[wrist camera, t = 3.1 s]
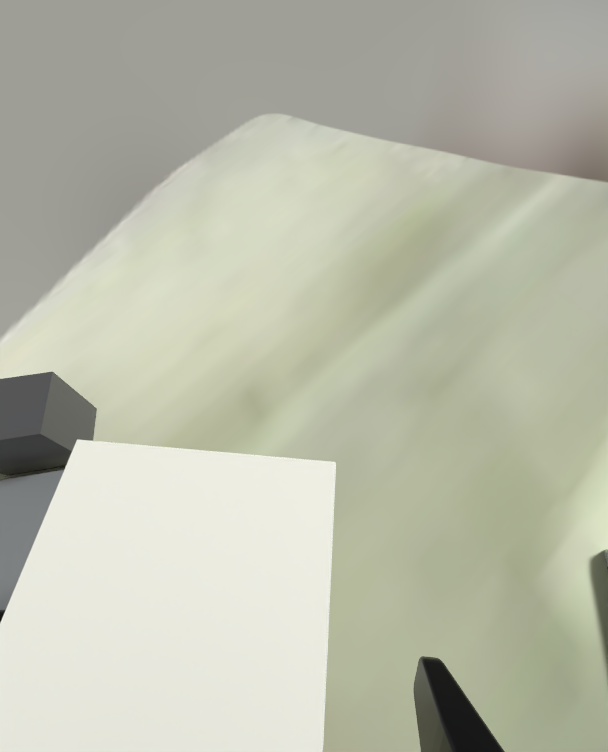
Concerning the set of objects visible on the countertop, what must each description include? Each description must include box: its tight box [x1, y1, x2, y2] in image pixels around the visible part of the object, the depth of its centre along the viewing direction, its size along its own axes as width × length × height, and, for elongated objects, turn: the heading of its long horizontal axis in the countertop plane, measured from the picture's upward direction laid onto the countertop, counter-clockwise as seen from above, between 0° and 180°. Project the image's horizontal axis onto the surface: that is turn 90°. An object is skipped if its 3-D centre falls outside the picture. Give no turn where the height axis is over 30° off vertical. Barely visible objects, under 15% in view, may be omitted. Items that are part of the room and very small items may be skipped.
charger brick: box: [0, 439, 336, 752], centre depth 10 cm, size 5×5×12 cm
